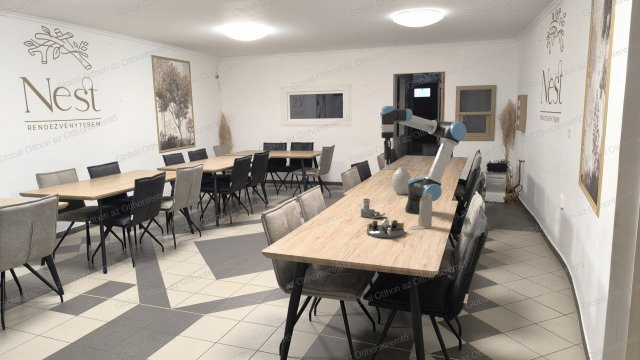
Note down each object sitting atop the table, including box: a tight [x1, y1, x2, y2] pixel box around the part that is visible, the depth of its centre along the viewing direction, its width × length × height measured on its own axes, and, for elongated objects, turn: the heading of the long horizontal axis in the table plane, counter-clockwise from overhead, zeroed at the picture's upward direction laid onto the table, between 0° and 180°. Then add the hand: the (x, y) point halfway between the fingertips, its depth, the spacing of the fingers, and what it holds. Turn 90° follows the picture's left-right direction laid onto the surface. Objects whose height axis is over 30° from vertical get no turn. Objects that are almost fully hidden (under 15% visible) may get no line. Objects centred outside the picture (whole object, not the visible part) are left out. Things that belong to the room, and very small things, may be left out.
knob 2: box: [385, 224, 391, 235], centre depth 229 cm, size 8×3×4 cm, turn 1°
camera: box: [360, 198, 386, 219], centre depth 273 cm, size 9×12×15 cm
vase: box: [391, 166, 412, 196], centre depth 345 cm, size 16×16×22 cm
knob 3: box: [391, 219, 405, 229], centre depth 240 cm, size 8×3×4 cm, turn 48°
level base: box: [366, 218, 405, 240], centre depth 238 cm, size 21×21×8 cm
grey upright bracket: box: [409, 193, 433, 230], centre depth 247 cm, size 7×14×20 cm, turn 112°
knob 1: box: [366, 220, 379, 230], centre depth 239 cm, size 8×3×4 cm, turn 133°
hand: (387, 169), depth 260 cm, fingers closed
